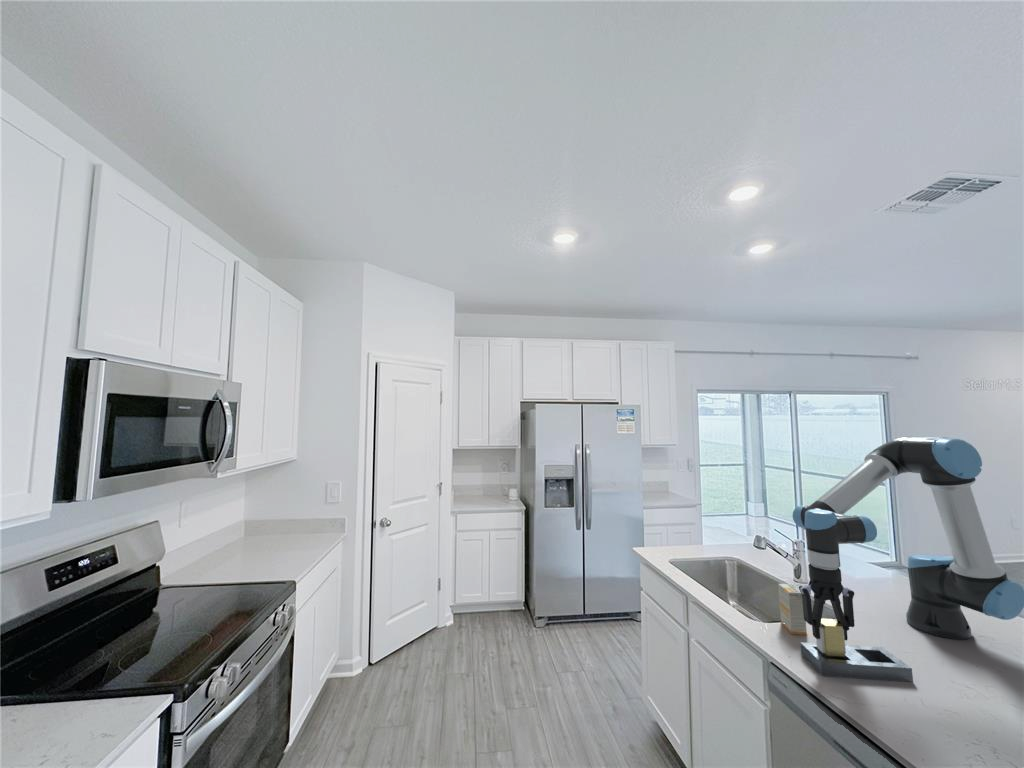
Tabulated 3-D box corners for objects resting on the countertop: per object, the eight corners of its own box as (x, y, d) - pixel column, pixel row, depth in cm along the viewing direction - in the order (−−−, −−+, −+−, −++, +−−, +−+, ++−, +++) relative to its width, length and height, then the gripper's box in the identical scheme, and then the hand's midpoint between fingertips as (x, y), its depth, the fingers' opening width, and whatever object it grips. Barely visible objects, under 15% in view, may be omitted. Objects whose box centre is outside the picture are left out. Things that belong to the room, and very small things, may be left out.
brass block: (835, 648, 120) (832, 619, 120) (845, 656, 115) (842, 626, 116) (817, 647, 120) (815, 618, 121) (827, 655, 116) (824, 625, 116)
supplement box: (807, 635, 134) (804, 593, 136) (791, 634, 135) (788, 592, 137) (796, 623, 142) (793, 583, 144) (780, 622, 143) (777, 582, 145)
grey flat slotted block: (884, 660, 120) (882, 647, 120) (913, 682, 110) (911, 668, 110) (801, 654, 123) (800, 642, 124) (822, 675, 113) (820, 662, 113)
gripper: (849, 562, 122) (856, 645, 120) (784, 560, 125) (790, 642, 123) (866, 571, 115) (875, 660, 113) (797, 568, 117) (804, 656, 115)
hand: (831, 650), depth 118 cm, fingers closed on brass block, 4 cm apart
